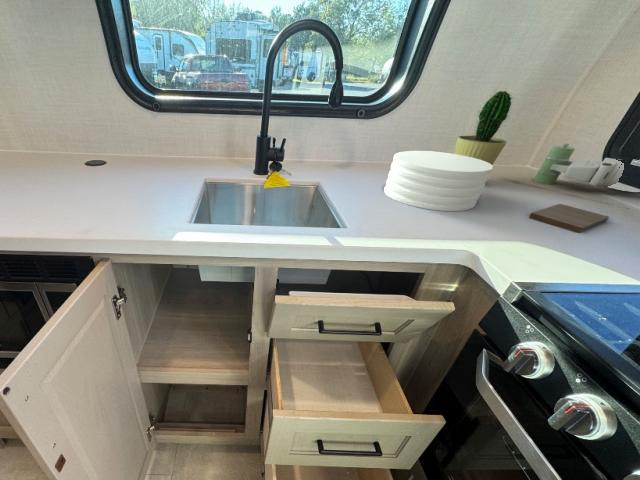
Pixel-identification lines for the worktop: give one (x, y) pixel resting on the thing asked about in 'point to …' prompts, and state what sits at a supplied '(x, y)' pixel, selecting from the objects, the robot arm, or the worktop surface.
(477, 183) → the plate stack
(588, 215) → the walnut board
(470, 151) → the potted cactus
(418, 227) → the worktop surface
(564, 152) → the green ridged cylinder
